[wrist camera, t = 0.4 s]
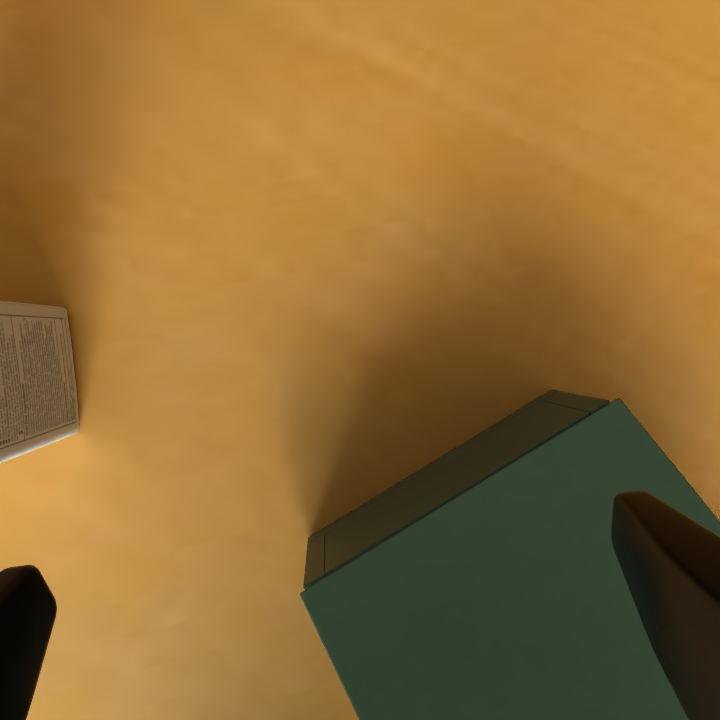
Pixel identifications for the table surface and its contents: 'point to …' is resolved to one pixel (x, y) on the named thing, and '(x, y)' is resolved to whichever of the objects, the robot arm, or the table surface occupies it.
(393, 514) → the toy chest
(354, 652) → the lid
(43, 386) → the box
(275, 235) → the table surface
